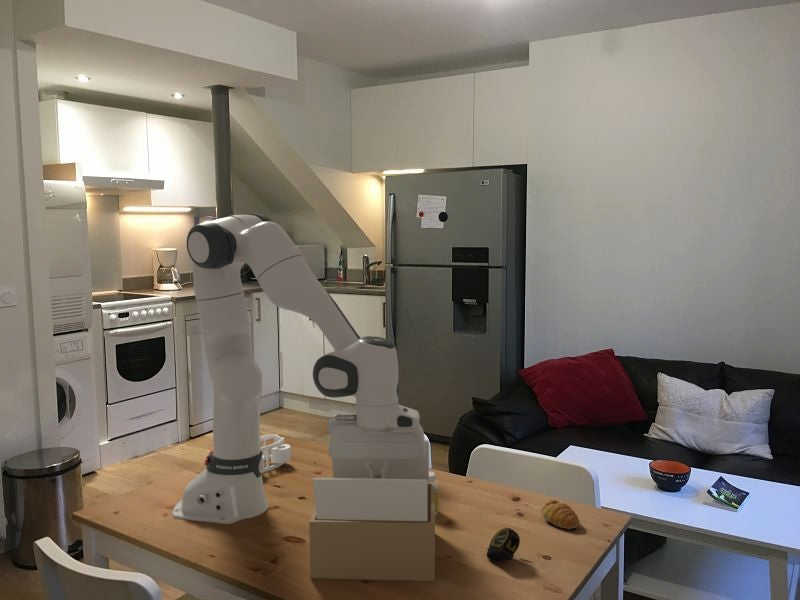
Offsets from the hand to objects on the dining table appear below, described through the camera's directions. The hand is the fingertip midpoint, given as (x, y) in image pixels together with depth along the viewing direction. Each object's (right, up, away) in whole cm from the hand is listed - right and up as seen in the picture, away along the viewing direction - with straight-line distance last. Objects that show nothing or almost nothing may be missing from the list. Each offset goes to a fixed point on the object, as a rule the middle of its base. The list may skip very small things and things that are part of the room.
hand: (377, 479), depth 143 cm
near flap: (-1, 0, -15) cm, 15 cm away
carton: (0, -16, -1) cm, 16 cm away
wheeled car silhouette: (-35, -11, +53) cm, 64 cm away
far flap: (0, +3, +6) cm, 7 cm away
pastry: (+41, -15, +12) cm, 45 cm away
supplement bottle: (+11, -14, +21) cm, 28 cm away
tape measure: (+26, -16, -4) cm, 31 cm away
